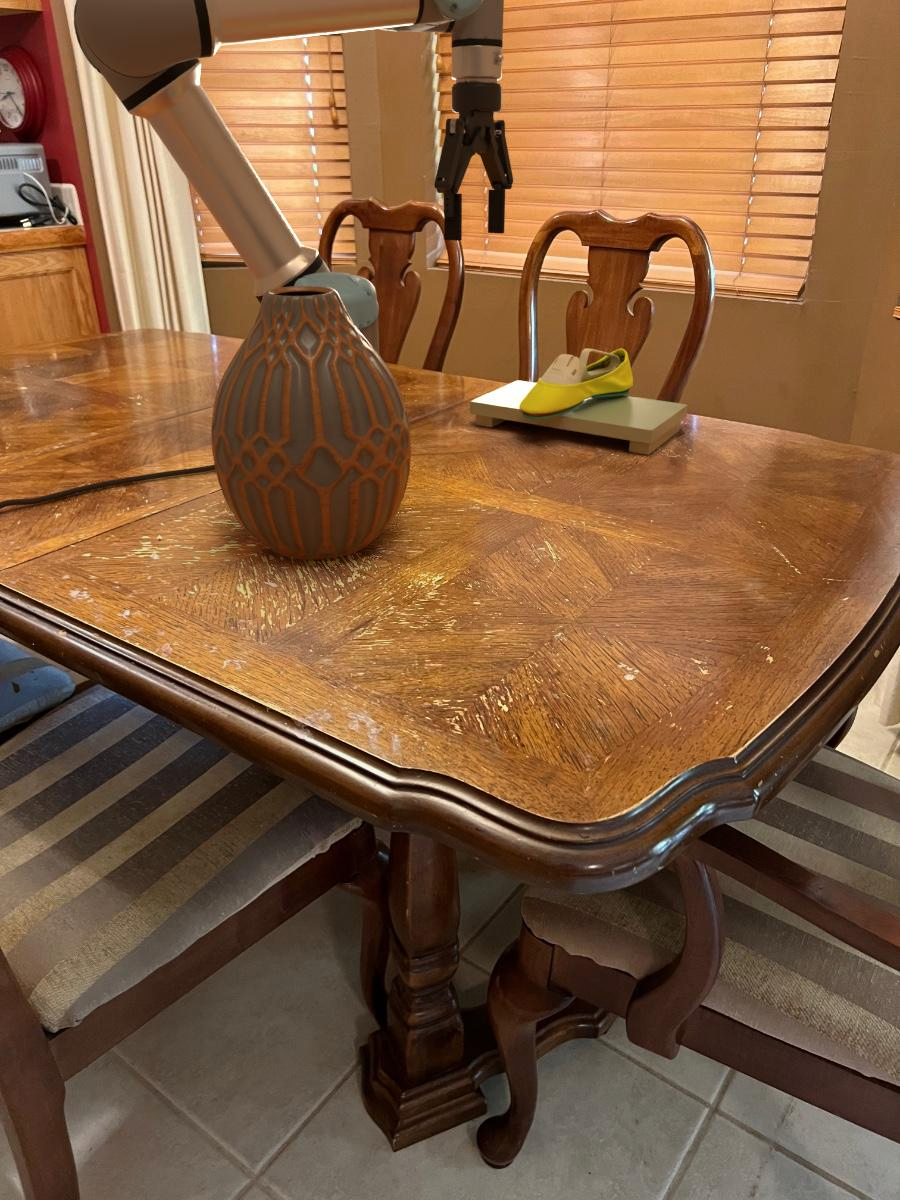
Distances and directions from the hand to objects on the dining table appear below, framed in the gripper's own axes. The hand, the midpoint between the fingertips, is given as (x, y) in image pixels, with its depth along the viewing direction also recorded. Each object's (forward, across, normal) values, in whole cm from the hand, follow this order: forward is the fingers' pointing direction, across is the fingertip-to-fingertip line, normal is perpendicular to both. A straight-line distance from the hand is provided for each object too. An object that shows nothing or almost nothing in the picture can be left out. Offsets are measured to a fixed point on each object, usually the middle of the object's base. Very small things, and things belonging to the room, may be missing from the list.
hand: (475, 236), depth 138 cm
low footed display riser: (+27, -5, -22) cm, 35 cm away
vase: (+27, -60, -15) cm, 67 cm away
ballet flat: (+23, -6, -22) cm, 32 cm away
